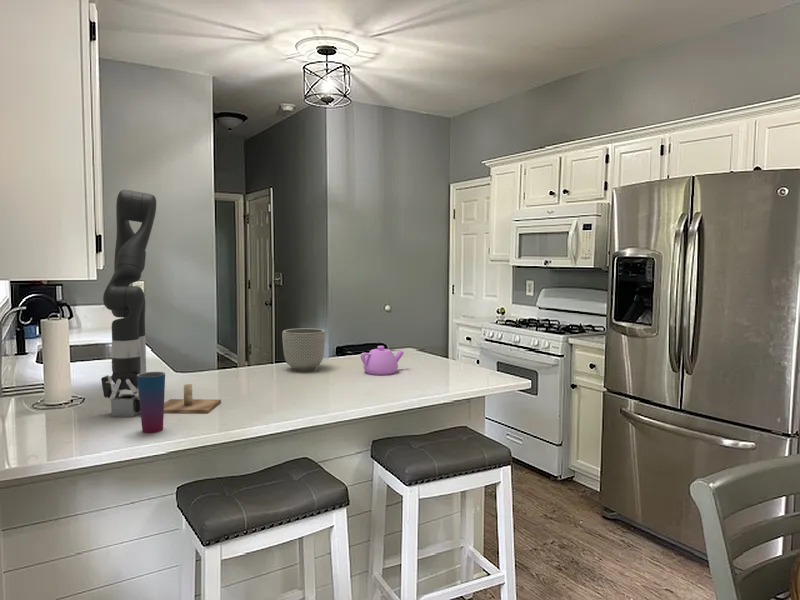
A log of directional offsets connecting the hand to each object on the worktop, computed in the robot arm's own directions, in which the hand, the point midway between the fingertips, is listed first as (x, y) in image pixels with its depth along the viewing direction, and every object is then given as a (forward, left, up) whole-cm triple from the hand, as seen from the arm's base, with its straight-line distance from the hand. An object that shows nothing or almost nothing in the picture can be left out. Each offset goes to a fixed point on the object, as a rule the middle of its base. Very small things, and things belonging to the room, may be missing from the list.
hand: (127, 411), depth 163 cm
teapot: (+72, +62, -1) cm, 95 cm away
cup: (+14, -15, -1) cm, 21 cm away
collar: (0, 0, -1) cm, 1 cm away
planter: (+40, +65, -1) cm, 76 cm away
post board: (+15, +7, -1) cm, 17 cm away
